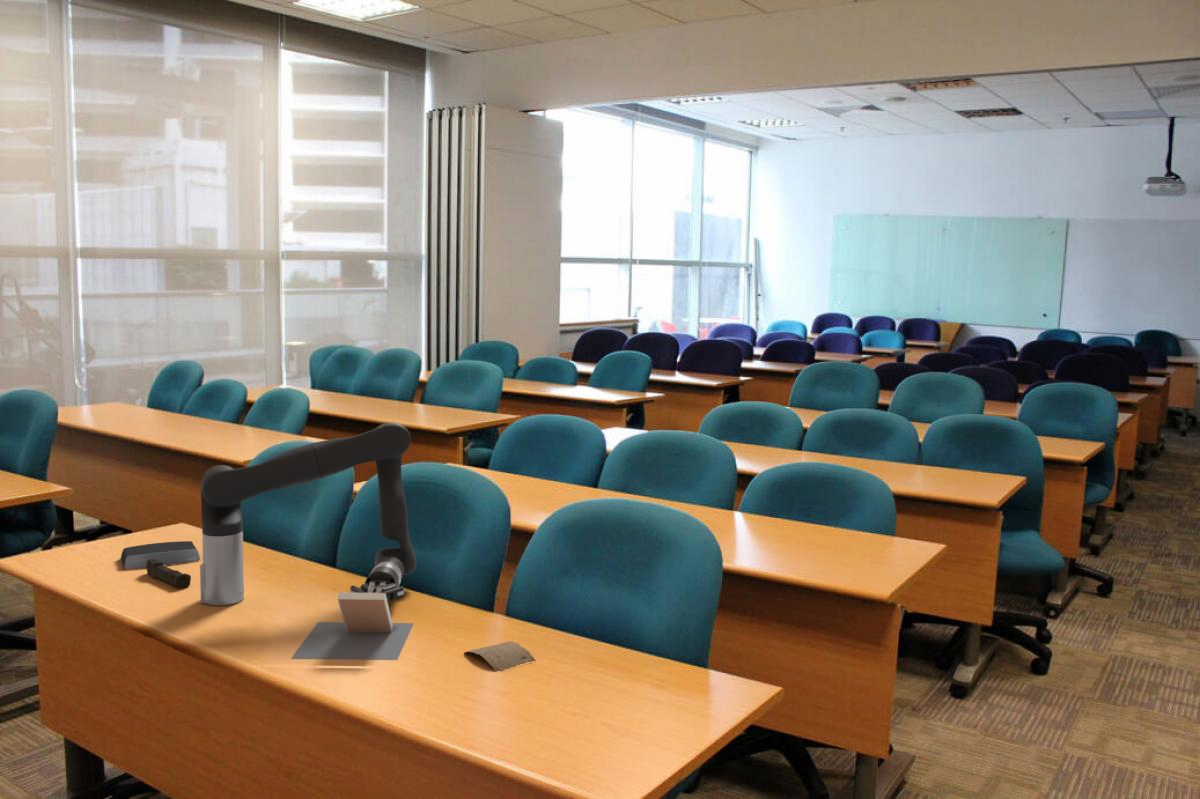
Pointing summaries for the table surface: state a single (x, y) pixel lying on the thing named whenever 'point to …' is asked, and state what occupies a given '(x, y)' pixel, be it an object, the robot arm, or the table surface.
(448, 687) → the table surface
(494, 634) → the table surface
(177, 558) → the external hard drive
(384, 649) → the mat
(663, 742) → the table surface
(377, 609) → the tile
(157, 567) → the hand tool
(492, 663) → the clay tablet
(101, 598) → the table surface
